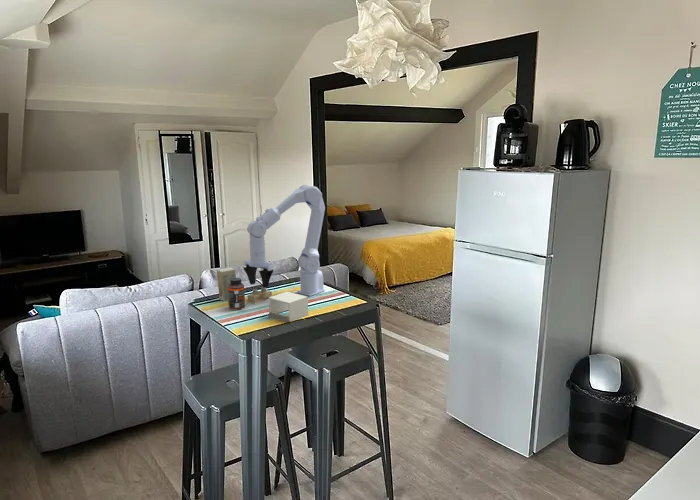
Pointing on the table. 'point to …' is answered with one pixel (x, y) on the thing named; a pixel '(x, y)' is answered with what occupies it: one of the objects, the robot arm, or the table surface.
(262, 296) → the beige toy brick
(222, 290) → the skincare box
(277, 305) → the open shelf unit
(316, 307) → the table surface
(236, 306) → the supplement bottle
